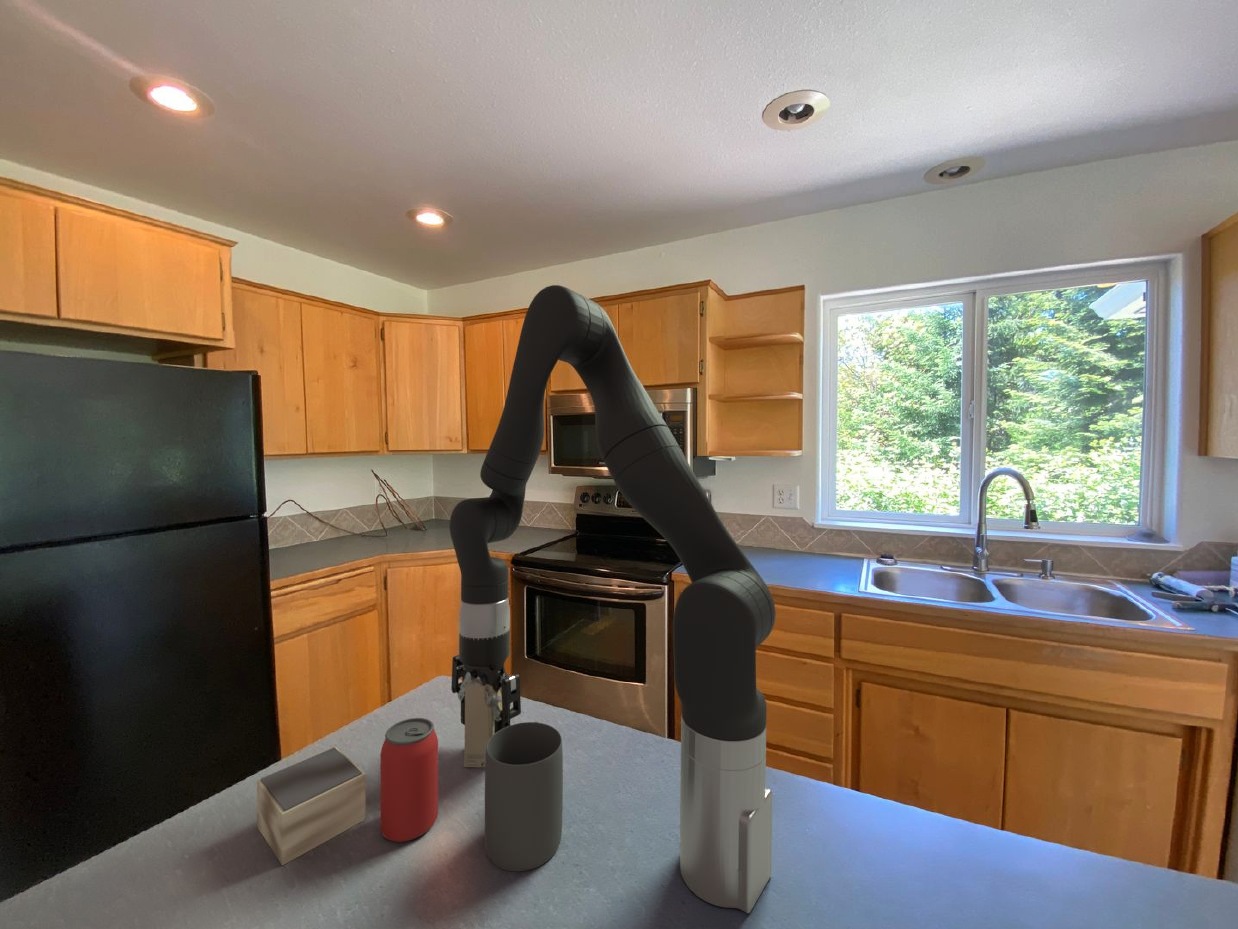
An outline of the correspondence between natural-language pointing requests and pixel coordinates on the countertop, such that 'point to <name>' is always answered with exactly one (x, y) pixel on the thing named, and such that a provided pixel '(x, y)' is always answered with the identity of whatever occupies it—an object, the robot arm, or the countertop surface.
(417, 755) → the beer can
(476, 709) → the skincare box
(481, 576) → the robot arm
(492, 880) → the countertop surface
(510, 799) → the mug
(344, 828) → the birch plinth
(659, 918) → the countertop surface
